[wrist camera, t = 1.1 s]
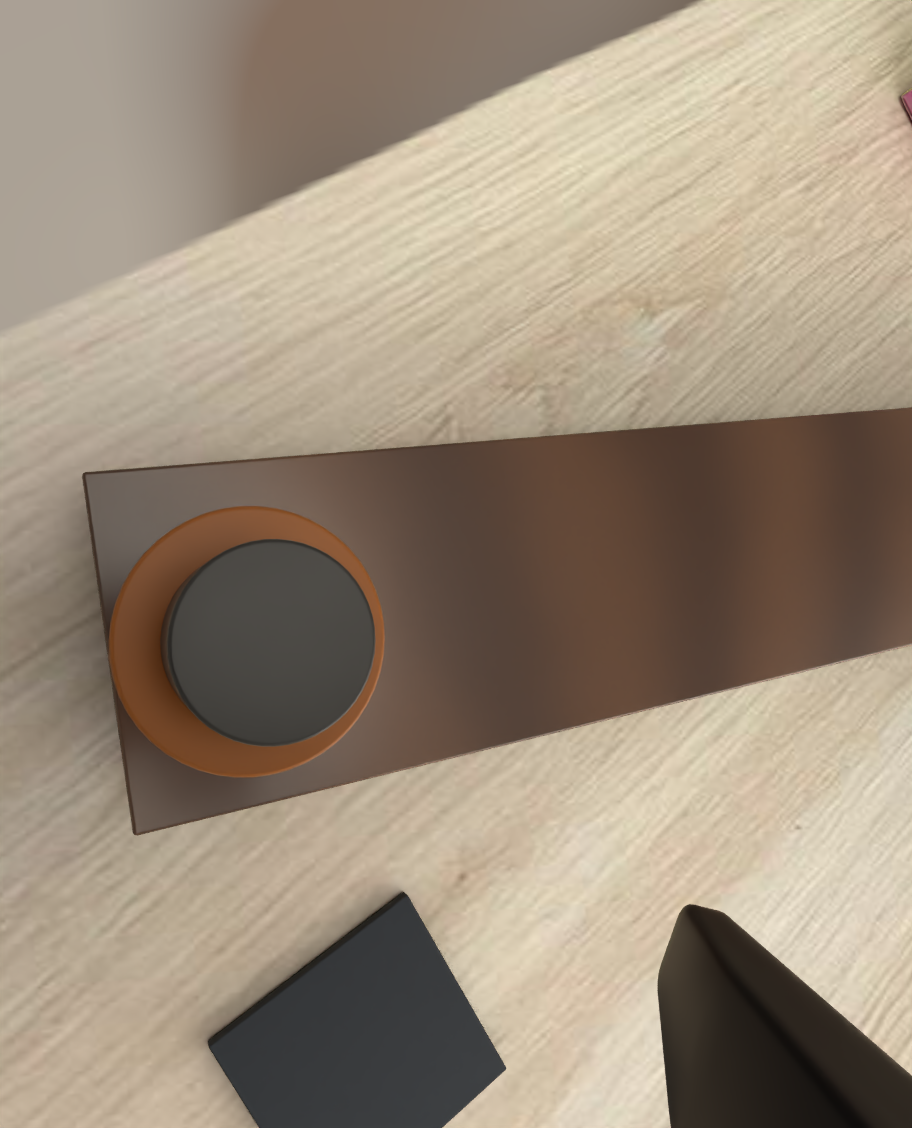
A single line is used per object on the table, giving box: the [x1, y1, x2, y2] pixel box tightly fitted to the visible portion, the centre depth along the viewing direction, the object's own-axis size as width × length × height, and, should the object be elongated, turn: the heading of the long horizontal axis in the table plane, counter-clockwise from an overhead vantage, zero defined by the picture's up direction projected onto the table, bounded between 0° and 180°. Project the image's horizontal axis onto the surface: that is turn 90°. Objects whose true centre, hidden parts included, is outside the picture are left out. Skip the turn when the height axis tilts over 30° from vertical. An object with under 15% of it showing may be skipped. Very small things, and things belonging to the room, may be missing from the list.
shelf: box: [82, 407, 912, 835], centre depth 30 cm, size 50×9×8 cm, turn 99°
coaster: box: [208, 892, 506, 1128], centre depth 25 cm, size 7×7×1 cm
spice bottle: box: [109, 506, 385, 777], centre depth 17 cm, size 5×5×9 cm
